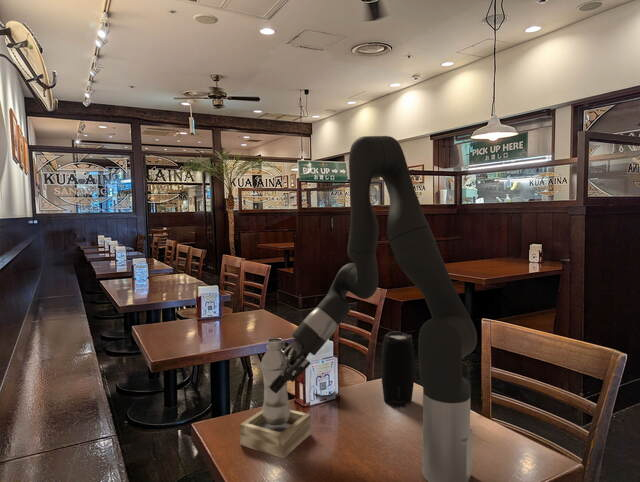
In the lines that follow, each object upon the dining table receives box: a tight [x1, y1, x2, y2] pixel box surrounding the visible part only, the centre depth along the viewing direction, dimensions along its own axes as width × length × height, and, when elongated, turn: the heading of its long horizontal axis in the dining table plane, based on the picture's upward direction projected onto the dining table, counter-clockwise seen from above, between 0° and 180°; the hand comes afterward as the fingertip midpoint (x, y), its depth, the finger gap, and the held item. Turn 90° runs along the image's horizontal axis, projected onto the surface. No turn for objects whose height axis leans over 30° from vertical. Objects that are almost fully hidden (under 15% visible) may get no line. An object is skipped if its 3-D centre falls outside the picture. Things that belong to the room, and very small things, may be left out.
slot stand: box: [239, 408, 311, 459], centre depth 104 cm, size 12×12×5 cm
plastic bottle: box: [260, 337, 291, 425], centre depth 103 cm, size 6×7×20 cm
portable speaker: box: [381, 330, 415, 408], centre depth 124 cm, size 9×9×20 cm
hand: (268, 385), depth 103 cm, fingers closed on plastic bottle, 6 cm apart
